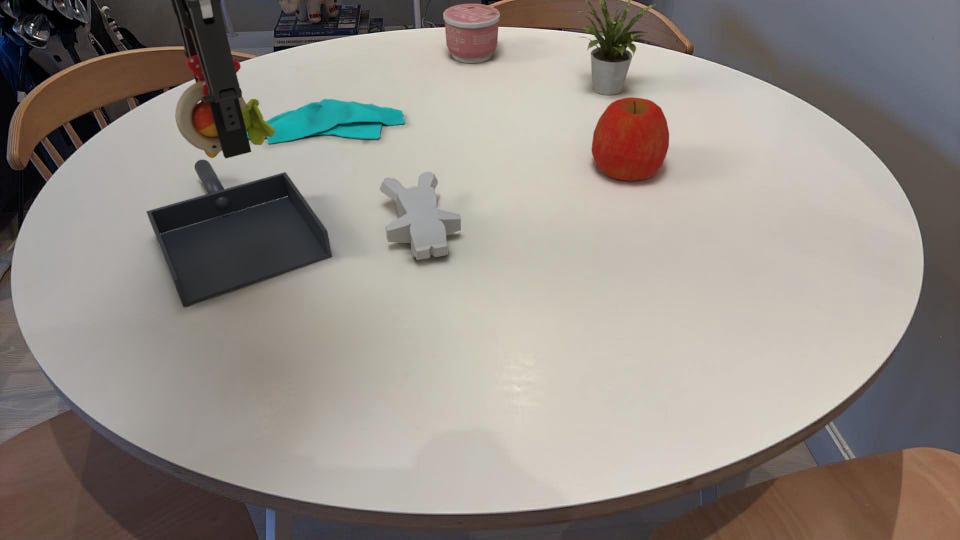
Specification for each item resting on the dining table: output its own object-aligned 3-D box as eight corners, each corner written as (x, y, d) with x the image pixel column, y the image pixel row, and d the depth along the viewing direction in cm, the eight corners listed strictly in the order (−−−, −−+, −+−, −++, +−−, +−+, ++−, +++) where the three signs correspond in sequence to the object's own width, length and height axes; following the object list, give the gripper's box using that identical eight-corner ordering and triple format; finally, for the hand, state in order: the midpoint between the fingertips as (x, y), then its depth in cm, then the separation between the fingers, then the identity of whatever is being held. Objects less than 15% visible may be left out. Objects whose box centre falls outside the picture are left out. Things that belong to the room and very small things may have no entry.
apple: (643, 144, 108) (653, 79, 101) (677, 180, 100) (692, 113, 93) (578, 154, 105) (585, 89, 99) (608, 193, 97) (618, 124, 91)
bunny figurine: (392, 245, 82) (371, 168, 92) (394, 275, 85) (374, 197, 95) (470, 232, 84) (441, 157, 94) (469, 262, 87) (441, 187, 97)
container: (504, 63, 131) (505, 21, 126) (449, 68, 129) (447, 25, 124) (493, 42, 139) (493, 1, 134) (440, 46, 137) (439, 5, 132)
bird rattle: (234, 184, 73) (295, 125, 75) (164, 108, 64) (236, 43, 66) (204, 163, 76) (263, 107, 78) (133, 88, 67) (202, 27, 69)
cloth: (406, 100, 119) (405, 88, 118) (404, 140, 109) (403, 127, 107) (252, 104, 118) (249, 92, 117) (235, 145, 108) (231, 132, 106)
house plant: (545, 94, 121) (552, -1, 110) (577, 65, 130) (585, -26, 120) (624, 113, 116) (638, 14, 105) (651, 81, 125) (666, -12, 114)
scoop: (332, 256, 87) (327, 230, 84) (183, 307, 80) (173, 280, 77) (266, 160, 104) (260, 136, 102) (139, 195, 97) (130, 170, 95)
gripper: (239, -82, 55) (291, 171, 70) (187, -125, 67) (241, 98, 82) (138, -69, 52) (215, 192, 67) (104, -116, 64) (175, 114, 79)
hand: (229, 140), depth 74 cm, fingers closed on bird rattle, 5 cm apart
